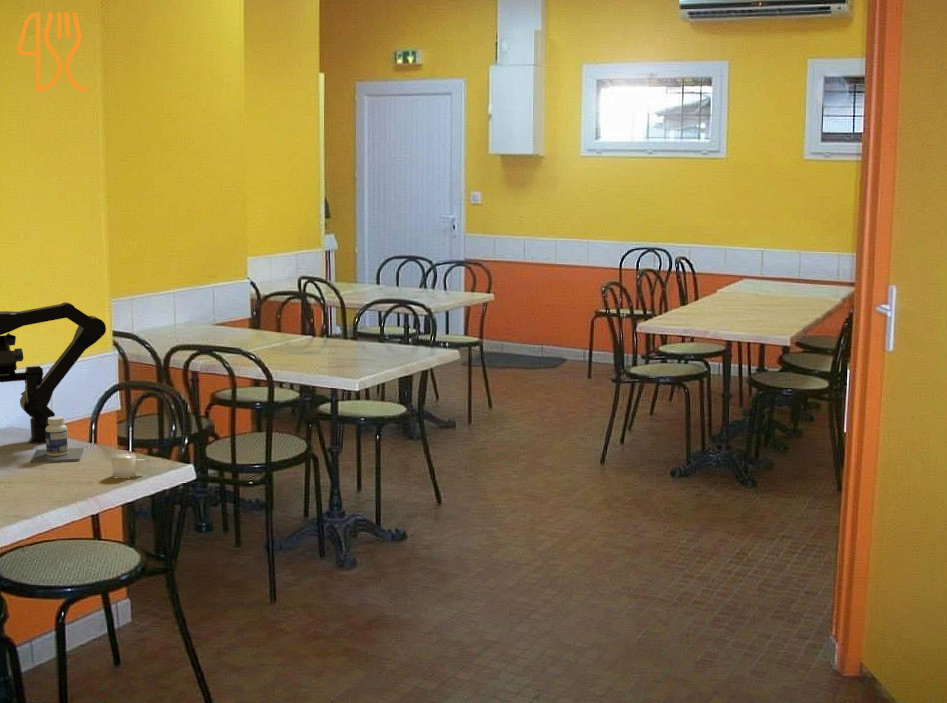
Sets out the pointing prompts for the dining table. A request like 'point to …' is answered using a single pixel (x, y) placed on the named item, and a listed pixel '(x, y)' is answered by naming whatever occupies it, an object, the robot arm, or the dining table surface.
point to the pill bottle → (56, 437)
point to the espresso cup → (126, 465)
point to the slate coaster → (42, 456)
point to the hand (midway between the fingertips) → (10, 404)
